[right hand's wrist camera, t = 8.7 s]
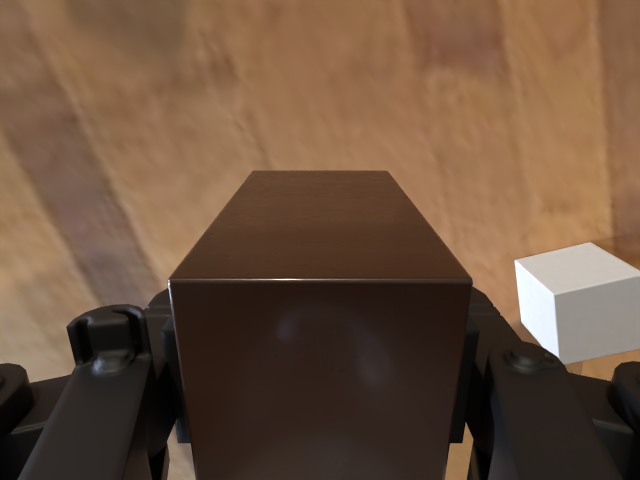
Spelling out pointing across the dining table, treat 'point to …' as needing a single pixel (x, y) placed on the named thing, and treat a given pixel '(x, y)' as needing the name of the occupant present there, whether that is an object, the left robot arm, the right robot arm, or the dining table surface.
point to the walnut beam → (320, 332)
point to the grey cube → (580, 302)
